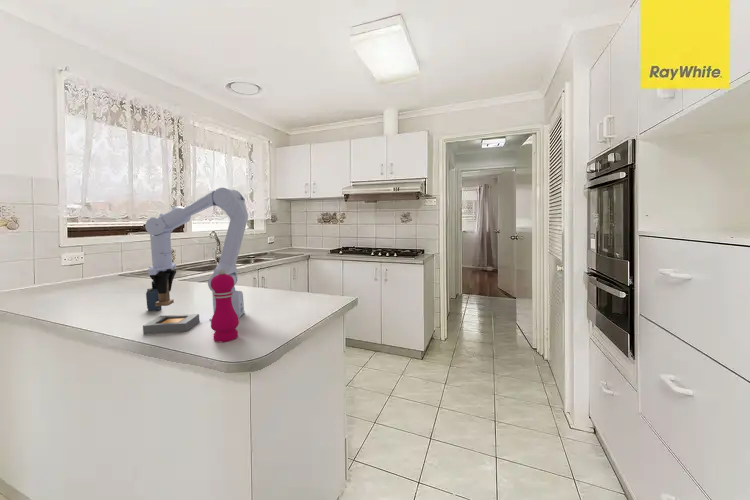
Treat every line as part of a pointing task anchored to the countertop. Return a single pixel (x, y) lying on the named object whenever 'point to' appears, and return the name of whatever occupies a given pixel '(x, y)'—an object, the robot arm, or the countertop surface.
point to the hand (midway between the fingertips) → (164, 292)
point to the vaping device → (152, 298)
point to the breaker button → (173, 320)
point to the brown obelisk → (164, 298)
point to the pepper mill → (224, 308)
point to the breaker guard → (171, 324)
